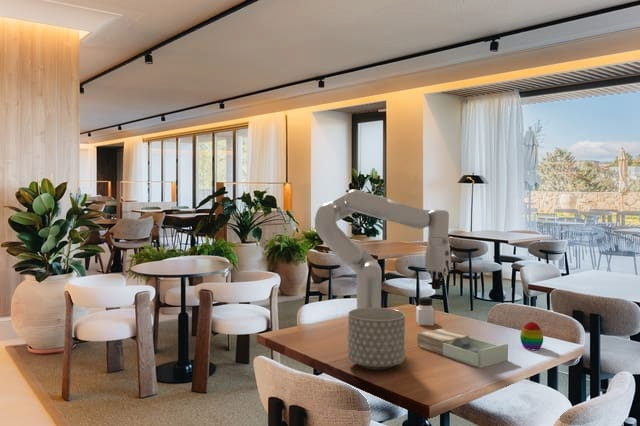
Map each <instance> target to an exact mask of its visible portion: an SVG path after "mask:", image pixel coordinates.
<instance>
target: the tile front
mask: <svg viewBox="0 0 640 426" xmlns="http://www.w3.org/2000/svg"><path fill="white" fill-rule="evenodd" d="M461 348H462V349H465V350H468V351H471V352H474V353H477V354H478V350H480V349H478V348H475V347H472V346H466V347H461Z"/></svg>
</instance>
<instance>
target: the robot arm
mask: <svg viewBox="0 0 640 426" xmlns="http://www.w3.org/2000/svg"><path fill="white" fill-rule="evenodd" d="M354 213H359V214H363V215H366V216H369V217H373V218H375V219H376V218H377V219H380V220H383V221H388V222H392V223H396V224H399V225H403V226H406V227H410V228H413V229H418V230H422V229H425V228H428V232H427V233H428V236H427V244H426V249H425V253H424V255H425V256H424V268H425V272H426V273H427V274H429V275H430V278H431V289H432V290H435V291H436V290H441V289H442V288H441V287H442V280H443V278H444V277H445V276H449V272H451V269H452V258H451V257H452V256H451V248H450V246H449V245H448V244H450V240H449V222H450V213H449V211H447V210H445V209H443V210H442V209H432V210H431V209H429V210H428V209H423V208H417V207H413V206H410V205H407V204H403V203H400V202H397V201H395V200H392V199H390V198H388V197H383V196H380V195H378V194H373V193H371V192H370V193H369V192H367V191H362V190H359V189H350V190H348V191H347V193H345V194H343V195H342V196H340V197H337V198H335V199H334V200H332V201H329V202H325V203H323V204H322V205H320V206H319V207H318V209H317V211H316V214H315V217H314V228H315V231H316V233H317V235H318V237H319V238H320V240H321V241H323V243H324V244H325V245H326V246H327V247H328V248H329V250H330V251H331V252H332V253H333V254H334V255H335V257H337V258H338V259H339V261H340V262H341V263H342V264H343V265H345V267H350V268H351V269H352V270H353V272H354V273H356V309H359V308H382V275H383V274H382V268H381V266H380V264H379V263H378V262H377V260H375V258H373V256H372V255H371V253H369V252H368V251H367V250H366V249H365V248H364V247H363V246H362V245H361V244H360V243H359V242H357V241H354V240H352V239H350V237H348V236H347V234H346V233H345V232H344V231H343V230H342V229H341V228H340V227H339V226H338V224H337V222H338V221H340V220H342V219H344V218H346V217H349V216H350V215H353V214H354ZM346 340H347V341H348V334H347V335H346Z"/></svg>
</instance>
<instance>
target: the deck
mask: <svg viewBox="0 0 640 426" xmlns="http://www.w3.org/2000/svg"><path fill="white" fill-rule="evenodd" d="M465 337H469V335H467V334H464V333H460V332H457V331H454V330H450V329H447V328H437V329H433V330H432V329H431V330H427V331H422V332H418V333H417V347H419V348H423V349H425V350H428V351H431V352H433V353H437V354H440V355H442V356H443V343H446V344H449V345H452V346H455V344H456V343H457V342H458V340H459V339H461V338H465ZM469 338H470V337H469Z"/></svg>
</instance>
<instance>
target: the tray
mask: <svg viewBox="0 0 640 426" xmlns="http://www.w3.org/2000/svg"><path fill="white" fill-rule="evenodd" d="M469 338H470V339H471V340H472V341H473V343H472V344H471V345H470V346H472V347H475V348H478V349H480V350H478V354H477V353H474V352H471V351H468V350H465V349H462V348H459V347H455V346H452V345H449V344H446V343H443V355H442V356H443V357H446V358H449V359H453V360H454V361H458V362H460V363H463V364H466V365H469V366H472V367H475V368H479V369H483V368H486V367H489V366H492V365H496V364H497V365H498V364H500V363H505V362H507V361H508V360H509V359H508V358H509V356H508V355H509V344H508V343H502V344H499V345H498V344H496V343H492V342H489V341H486V340H482V339H479V338H474V337H471V336H470V337H469Z"/></svg>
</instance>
